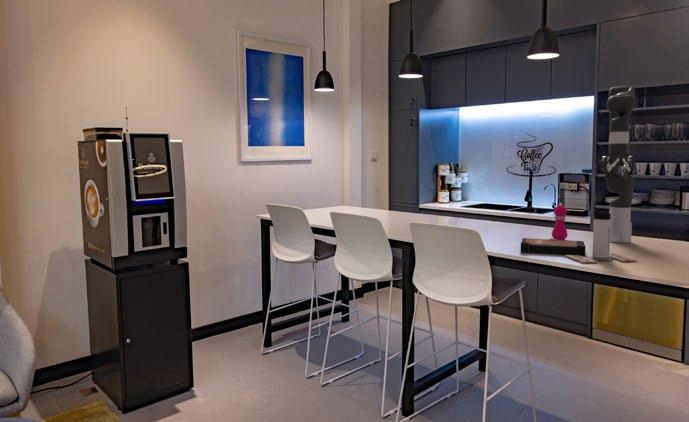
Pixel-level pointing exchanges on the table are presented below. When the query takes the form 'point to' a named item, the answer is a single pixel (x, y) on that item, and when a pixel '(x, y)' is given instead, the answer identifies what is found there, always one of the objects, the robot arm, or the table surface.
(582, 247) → the book
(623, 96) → the robot arm
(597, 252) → the travel mug
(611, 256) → the brown flat boards
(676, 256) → the table surface
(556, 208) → the pepper mill
